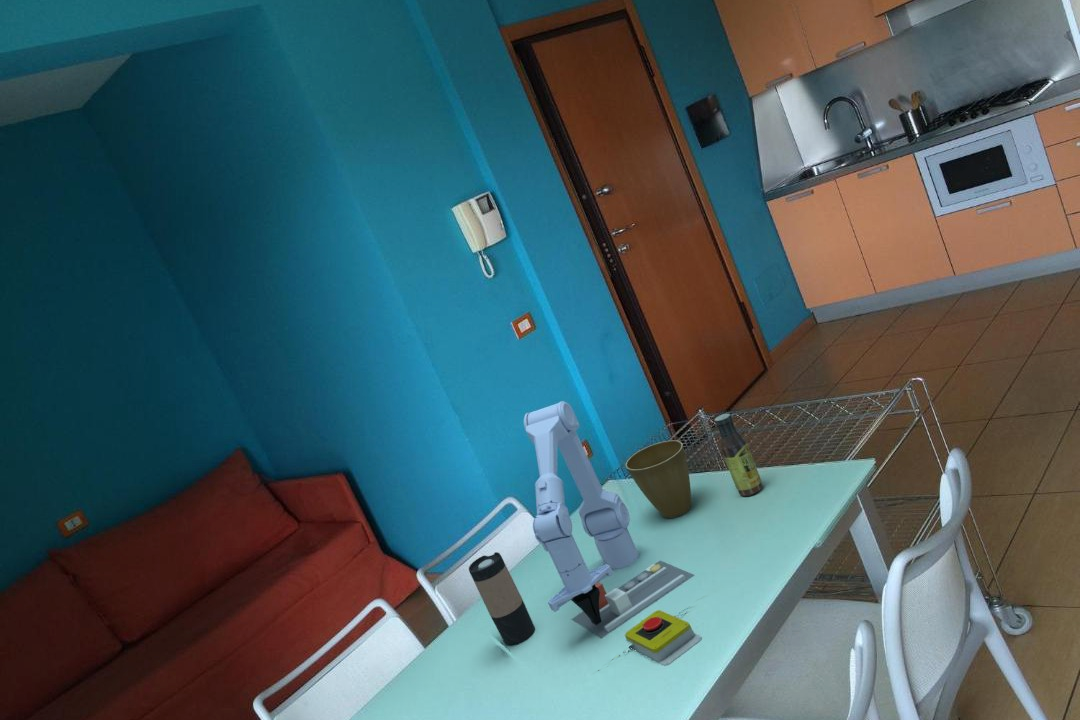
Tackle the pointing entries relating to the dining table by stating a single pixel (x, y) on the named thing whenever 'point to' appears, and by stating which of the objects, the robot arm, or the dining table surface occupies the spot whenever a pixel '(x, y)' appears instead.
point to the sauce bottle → (738, 457)
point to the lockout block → (601, 595)
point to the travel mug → (502, 599)
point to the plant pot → (663, 477)
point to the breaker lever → (618, 601)
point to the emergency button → (662, 637)
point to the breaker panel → (637, 596)
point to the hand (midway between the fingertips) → (596, 622)
